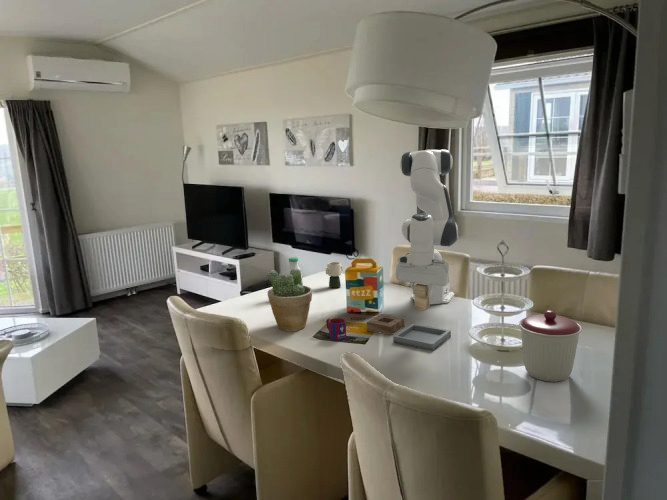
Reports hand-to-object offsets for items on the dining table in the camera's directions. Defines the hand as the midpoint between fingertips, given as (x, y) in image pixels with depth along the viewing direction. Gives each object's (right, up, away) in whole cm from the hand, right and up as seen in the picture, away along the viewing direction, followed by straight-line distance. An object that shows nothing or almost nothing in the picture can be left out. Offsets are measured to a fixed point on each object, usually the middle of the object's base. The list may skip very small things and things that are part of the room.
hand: (422, 294), depth 195 cm
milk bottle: (-52, -7, +65) cm, 84 cm away
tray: (+1, -17, +4) cm, 18 cm away
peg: (0, -5, +1) cm, 5 cm away
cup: (-32, -17, +11) cm, 38 cm away
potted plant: (-50, -16, +24) cm, 57 cm away
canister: (+35, -23, -30) cm, 51 cm away
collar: (-12, -15, +17) cm, 26 cm away
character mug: (-32, -3, +81) cm, 87 cm away
